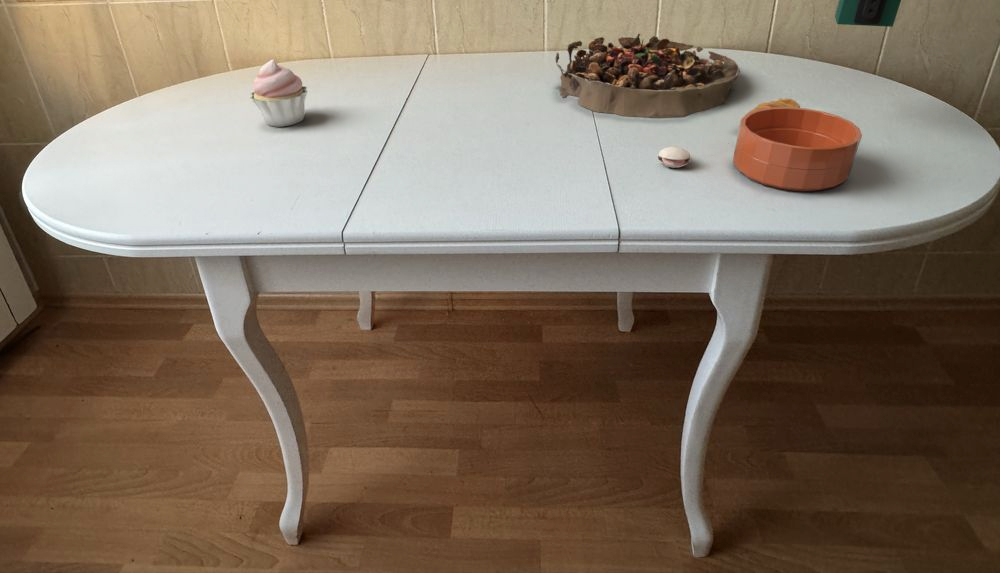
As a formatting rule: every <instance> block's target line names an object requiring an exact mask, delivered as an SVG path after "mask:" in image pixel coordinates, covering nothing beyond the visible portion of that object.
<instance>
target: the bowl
mask: <svg viewBox="0 0 1000 573" xmlns="http://www.w3.org/2000/svg"><path fill="white" fill-rule="evenodd" d="M749 112H750V111H749ZM737 132H738V133H737V136H736V141H735V147H734V152H733V165H734V166H735V168H736V169H737V170H738V171H739V172H740V173H741V174H743V175H744V176H745V177H747V178H748V179H750V180H752V181H754V182H756V183H758V184H761V185H764V186H767V187H770V188H775V189H779V190H786V191H793V192H815V191H816V192H817V191H821V190H822V191H823V190H826V189H830V188H833V187H836V186H838V185H841V184H842V183H845V182H846V181H847V179H848V177H849V176H850V174H851V171H852V169H853V168H852V167H853V165H854V161H855V159H856V155H857V152H858V149H859V146H860V143H861V140H862V136H863V134H862V131H861V129H860V127H859V126H857V125H856V124H855V123H854V122H852V121H850V120H848V119H846V118H844V117H842V116H840V115H836V114H833V113H830V112H826V111H822V110H816V109H810V108H804V107H800V108H793V107H775V108H766V109H759V110H755V111H753V112H750V113H748V112H747V113H746V114H744V116H743V117H741V119H740V122H739V128H738V131H737Z"/></svg>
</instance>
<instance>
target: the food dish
mask: <svg viewBox="0 0 1000 573" xmlns="http://www.w3.org/2000/svg"><path fill="white" fill-rule="evenodd" d="M640 36H641V33H637V35H636V36H635V37H631V36H626V37H625V36H624V37H623V36H622V37H619V38H618V43H619V45H620V46H618V47H617V46H614V44H613V43H612V42H608V44H607V45H605V44H604V42H605V38H604V37H602V36H601V37H598V38H595V39H594V40H592V41H590V42H589V43H588V52H587V50H586V49H581V48H580V49H578V47H582V45H583V42H582V41H581V40H577V41H574V42H571V43H569V44H568V46H567V49H566V51H567V52H568V58H569V63H568V64H567V65H566V70H564V69H563V68H562V66H561V65H560V64H558V63H559V60H560V54H559V52H556V53H555V63H556V66H557V68H558V69H559V70H560V72H561V76H560V84H561V85H560V86H561V87H559V88H558V90H559V91H558V92H559V95H560V96H561V98H562V99H564V98H566V97H567V96H569V95H570V96H572V97H578V99H577V104H578V105H579V106H580V107H583V108H586V109H587V110H589V111H591V112H597V113H604V114H613V115H618V116H621V117H638V118H651V119H652V118H653V119H654V118H655V119H657V118H658V119H659V118H683V117H686V116H688V115H690V114H693V113H697V112H702V111H705V110H709V109H711V108H714V107H716V106H719V105H721V104H723V103H724V102H725V100H724V99H726V98H727V97H728V94H729V89H730V87H731V85H732V84H733V82H735V81H736V80H737V79H738V78H739V76H740V72H741V68H740V67H739V64H738V63H737V62H736V61H735V60H734V59H731V57H728V56H727V55H723V54H720V53H716V52H713V51H708V54H709V57H708V58H709V59H710V60H711V61H713V62H711V61H709V59H708V58H700V57H699V55H697V53H701V52H702V51H703V50H704V48H703V47H701V46H697V47H696V50H693V51H691V49H692V48H693V47H695V45H693V44H686V43H684V42H677V41H672V40H671V41H670V39H669V38H666V37H665V38H661V39H659V37H658V36H656V35H652V37H651V38H649V41H648V42H646V43H645V44H643V43H644V39H642V40H641V38H640ZM574 49H575V50H576V49H577V52H576V54H574V55H573V51H574ZM681 52H682V53H681ZM572 56H573V57H574V59H572Z"/></svg>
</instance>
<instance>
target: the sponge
mask: <svg viewBox="0 0 1000 573" xmlns="http://www.w3.org/2000/svg"><path fill="white" fill-rule="evenodd" d="M901 2H902V0H886V4H885V7H884V10H883V13H882V17H881V20H880V22H879V23H878V24H856V23H855V22H854V17H855V14H856V10H857V7H858V3H859V0H838V2H837V7H836V10H835V15H834V18H835V22H836V24H837V25H844V26H845V25H846V26H864V27H865V26H867V27H868V26H869V27H888V28H889V27H893V26H894V24H895V21H896V18H897V14H898V11H899V8H900V6H901Z"/></svg>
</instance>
